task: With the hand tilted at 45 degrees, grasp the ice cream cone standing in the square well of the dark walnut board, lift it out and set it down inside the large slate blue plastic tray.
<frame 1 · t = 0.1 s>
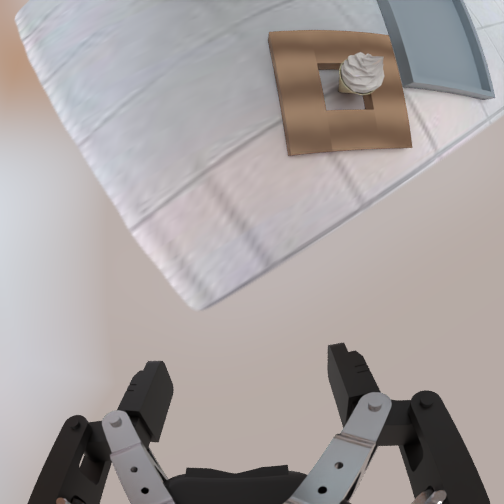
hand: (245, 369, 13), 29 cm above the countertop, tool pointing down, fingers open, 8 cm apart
ice cream cone: (339, 91, 35), resting in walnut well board
slate blue tray: (431, 32, 30), on the countertop
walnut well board: (340, 90, 34), on the countertop
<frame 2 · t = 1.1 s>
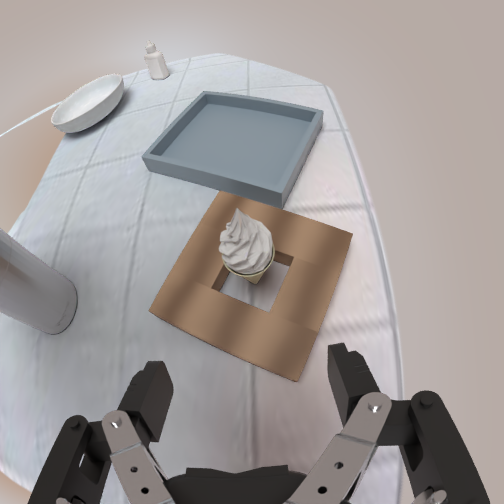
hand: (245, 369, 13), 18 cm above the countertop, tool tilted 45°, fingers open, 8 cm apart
eye dropper bottle: (160, 77, 63), on the countertop
ice cream cone: (255, 282, 35), resting in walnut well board
slate blue tray: (236, 144, 46), on the countertop
serving bowl: (95, 116, 59), on the countertop
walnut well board: (255, 282, 34), on the countertop
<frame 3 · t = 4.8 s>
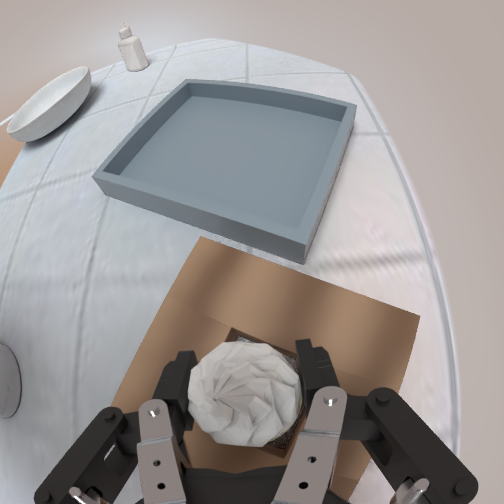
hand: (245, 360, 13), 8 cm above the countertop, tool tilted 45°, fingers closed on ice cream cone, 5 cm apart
eye dropper bottle: (138, 68, 48), on the countertop
ice cream cone: (260, 393, 20), resting in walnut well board, touching gripper
slate blue tray: (230, 153, 31), on the countertop
serving bowl: (59, 119, 44), on the countertop
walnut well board: (260, 393, 19), on the countertop
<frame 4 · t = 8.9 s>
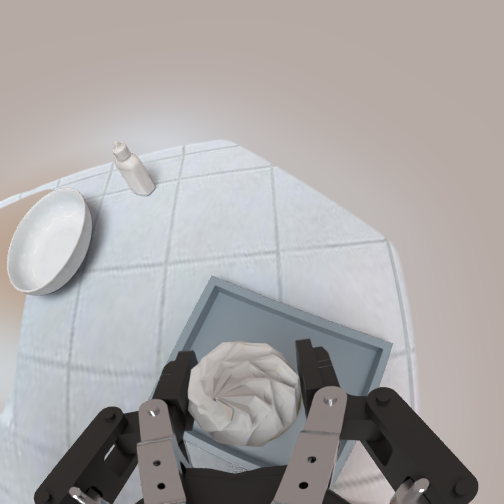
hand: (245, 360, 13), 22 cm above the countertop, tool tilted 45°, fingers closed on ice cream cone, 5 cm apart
eye dropper bottle: (143, 188, 49), on the countertop
ice cream cone: (260, 393, 20), point 14 cm above the countertop, touching gripper
slate blue tray: (268, 389, 32), on the countertop
serving bowl: (62, 253, 45), on the countertop
when the fingers open (9 cm above the countertop, at t = 13.1 s): ice cream cone stays where it is, resting on slate blue tray.
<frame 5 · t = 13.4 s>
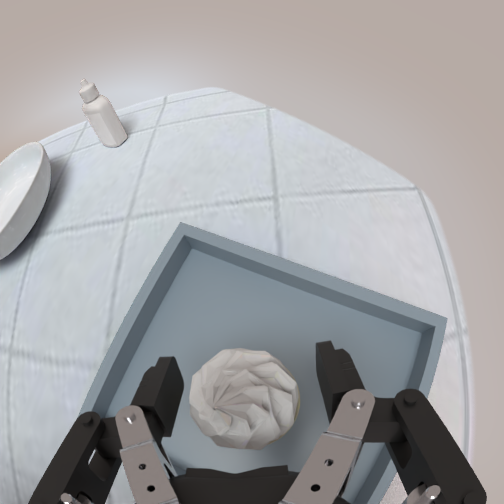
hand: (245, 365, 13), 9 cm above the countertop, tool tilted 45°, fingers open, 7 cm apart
eye dropper bottle: (114, 140, 38), on the countertop
ice cream cone: (260, 395, 20), point 1 cm above the countertop, touching slate blue tray
slate blue tray: (261, 393, 21), on the countertop
serving bowl: (21, 219, 34), on the countertop
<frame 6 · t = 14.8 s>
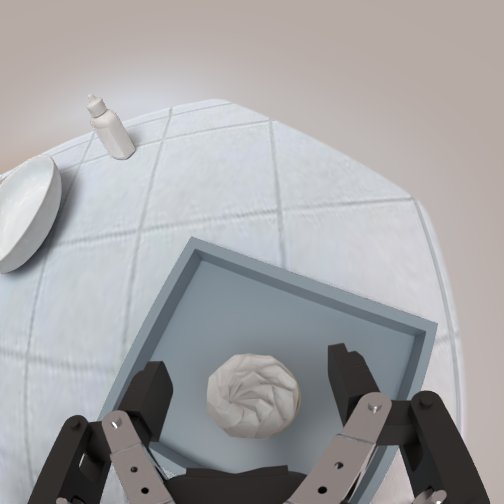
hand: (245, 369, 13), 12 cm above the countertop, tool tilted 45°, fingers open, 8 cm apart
eye dropper bottle: (122, 152, 41), on the countertop
ice cream cone: (267, 394, 22), point 1 cm above the countertop, touching slate blue tray
slate blue tray: (268, 392, 23), on the countertop
serving bowl: (32, 229, 36), on the countertop
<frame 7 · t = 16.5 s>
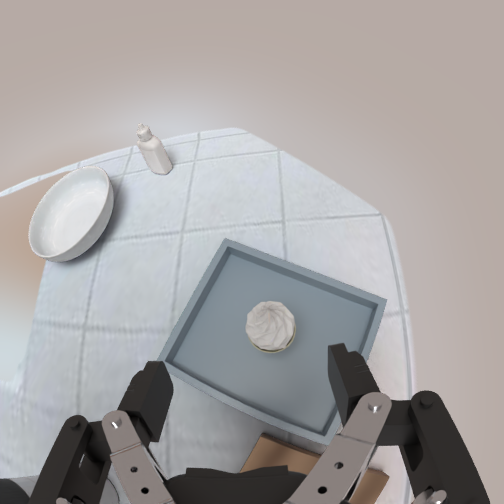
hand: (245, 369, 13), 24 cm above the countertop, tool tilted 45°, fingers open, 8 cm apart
eye dropper bottle: (161, 168, 55), on the countertop
ice cream cone: (273, 342, 36), point 1 cm above the countertop, touching slate blue tray
slate blue tray: (274, 341, 37), on the countertop
serving bowl: (83, 226, 50), on the countertop
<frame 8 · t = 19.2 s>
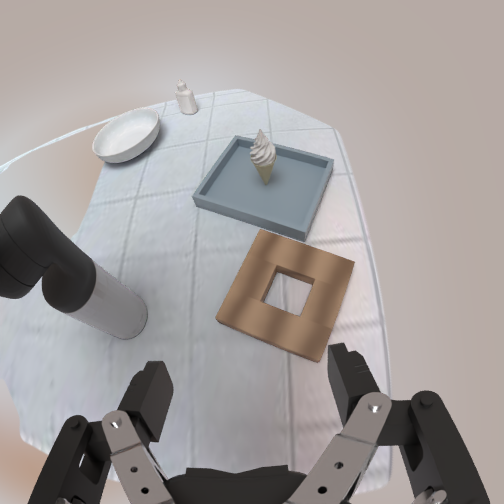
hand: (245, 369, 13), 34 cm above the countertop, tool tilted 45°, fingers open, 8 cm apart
eye dropper bottle: (189, 112, 78), on the countertop
ice cream cone: (266, 184, 60), point 1 cm above the countertop, touching slate blue tray
slate blue tray: (266, 186, 61), on the countertop
serving bowl: (132, 146, 74), on the countertop
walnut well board: (287, 295, 49), on the countertop
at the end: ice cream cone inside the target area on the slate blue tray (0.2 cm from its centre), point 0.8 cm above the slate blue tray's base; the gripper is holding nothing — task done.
